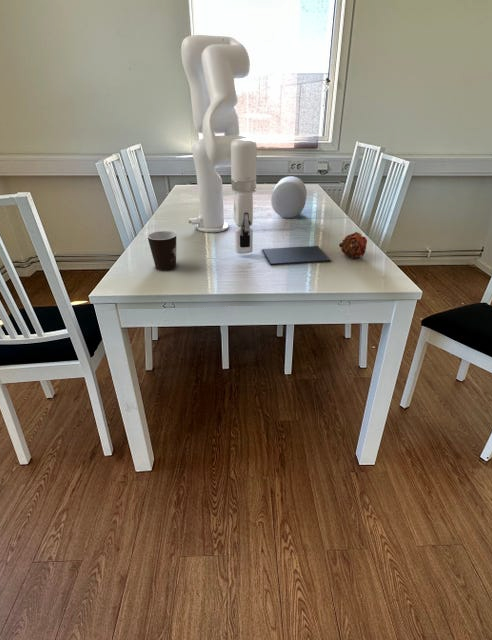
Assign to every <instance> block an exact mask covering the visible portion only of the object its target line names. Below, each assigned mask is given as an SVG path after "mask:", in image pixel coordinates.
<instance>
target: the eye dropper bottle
mask: <svg viewBox="0 0 492 640" xmlns="http://www.w3.org/2000/svg"><path fill="white" fill-rule="evenodd" d="M242 225H244V223H243V224H242ZM243 229H244V228H243ZM253 231H254V230H253V228H252V227H250V247H240V235H241V226H240V227H238V226H237V227H236V228H235V230H234V240H235V241H234V245H235V247H234V248H235V249H234V250H235V251H234V252H235V253H236V254H238V255H239V254H244V255H245V254H250V253H252V252H253V250H254V249H253V243H254V240H253V238H254V237H253V234H254V232H253Z"/></svg>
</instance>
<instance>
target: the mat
mask: <svg viewBox="0 0 492 640" xmlns="http://www.w3.org/2000/svg"><path fill="white" fill-rule="evenodd" d="M262 252H263V254H264V256H265V258H266V260H267V261H268V263H269V265H270V266H281V265H282V266H283V265H284V266H285V265H296V264H297V265H298V264H314V263H328V262H329V263H331V259H330V258H329V256H327V255H326V253H325V252H324V251H323V250H322V249H321V247H319V246H318V245H312V246H311V245H309V246H308V245H307V246H291V247H289V246H288V247H272V248H262Z"/></svg>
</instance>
